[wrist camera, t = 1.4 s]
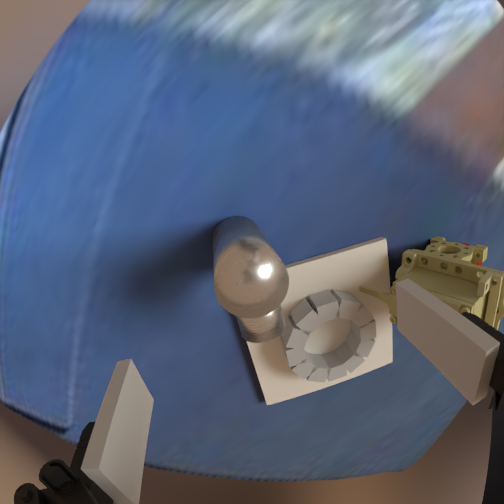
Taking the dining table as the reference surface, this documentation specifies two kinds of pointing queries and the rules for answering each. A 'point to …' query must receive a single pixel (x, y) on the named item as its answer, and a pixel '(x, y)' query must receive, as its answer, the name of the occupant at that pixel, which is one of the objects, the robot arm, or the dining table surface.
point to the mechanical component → (451, 279)
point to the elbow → (249, 279)
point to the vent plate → (328, 323)
